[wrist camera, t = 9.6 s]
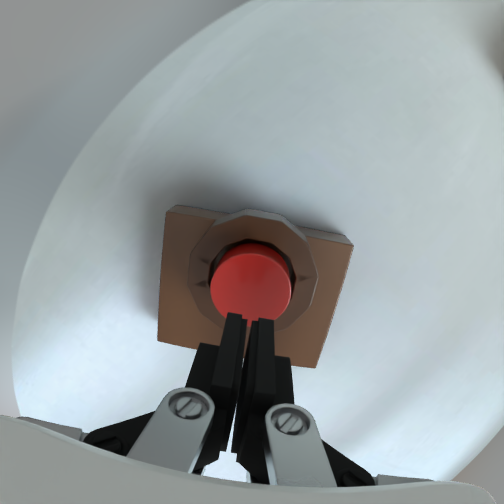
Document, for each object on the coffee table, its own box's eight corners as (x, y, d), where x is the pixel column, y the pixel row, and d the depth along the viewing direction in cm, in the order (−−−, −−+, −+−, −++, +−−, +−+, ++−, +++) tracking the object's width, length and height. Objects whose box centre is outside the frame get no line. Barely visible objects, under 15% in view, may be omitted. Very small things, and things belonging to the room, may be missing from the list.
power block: (165, 325, 23) (149, 356, 19) (177, 189, 20) (157, 200, 16) (312, 351, 23) (318, 385, 19) (349, 221, 20) (367, 238, 16)
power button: (211, 304, 18) (205, 319, 16) (220, 236, 17) (215, 246, 15) (280, 316, 18) (281, 332, 16) (296, 250, 17) (299, 261, 15)
